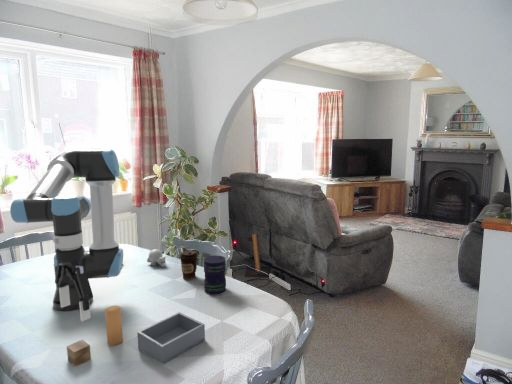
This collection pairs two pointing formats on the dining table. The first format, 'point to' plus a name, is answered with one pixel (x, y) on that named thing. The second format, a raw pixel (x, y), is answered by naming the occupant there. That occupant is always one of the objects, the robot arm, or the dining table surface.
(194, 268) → the coffee cup
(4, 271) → the dining table surface
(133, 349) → the dining table surface
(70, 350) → the walnut cube
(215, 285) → the storage jar
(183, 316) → the tote
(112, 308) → the tan dome-topped cylinder
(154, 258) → the toy rhinoceros
